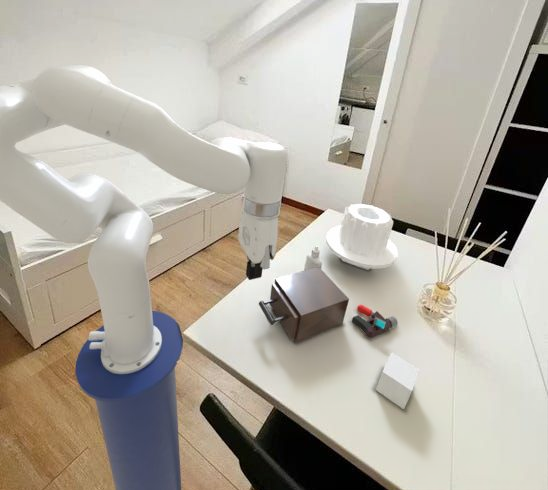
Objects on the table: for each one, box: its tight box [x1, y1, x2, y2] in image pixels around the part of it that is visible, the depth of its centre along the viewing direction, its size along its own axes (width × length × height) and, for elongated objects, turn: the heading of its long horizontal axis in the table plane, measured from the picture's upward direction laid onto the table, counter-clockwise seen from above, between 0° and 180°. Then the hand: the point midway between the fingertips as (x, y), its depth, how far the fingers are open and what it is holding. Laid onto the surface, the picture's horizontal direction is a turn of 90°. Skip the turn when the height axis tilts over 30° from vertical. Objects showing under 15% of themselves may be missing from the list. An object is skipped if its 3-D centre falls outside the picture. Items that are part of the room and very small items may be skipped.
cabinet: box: [274, 267, 350, 343], centre depth 79 cm, size 15×14×9 cm
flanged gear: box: [325, 203, 399, 271], centre depth 103 cm, size 25×25×19 cm
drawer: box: [258, 282, 299, 340], centre depth 77 cm, size 18×12×7 cm
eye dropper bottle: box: [303, 245, 323, 271], centre depth 93 cm, size 4×6×12 cm
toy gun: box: [351, 304, 399, 339], centre depth 80 cm, size 10×12×5 cm
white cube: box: [375, 351, 420, 410], centre depth 63 cm, size 6×6×6 cm
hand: (253, 276), depth 66 cm, fingers closed
